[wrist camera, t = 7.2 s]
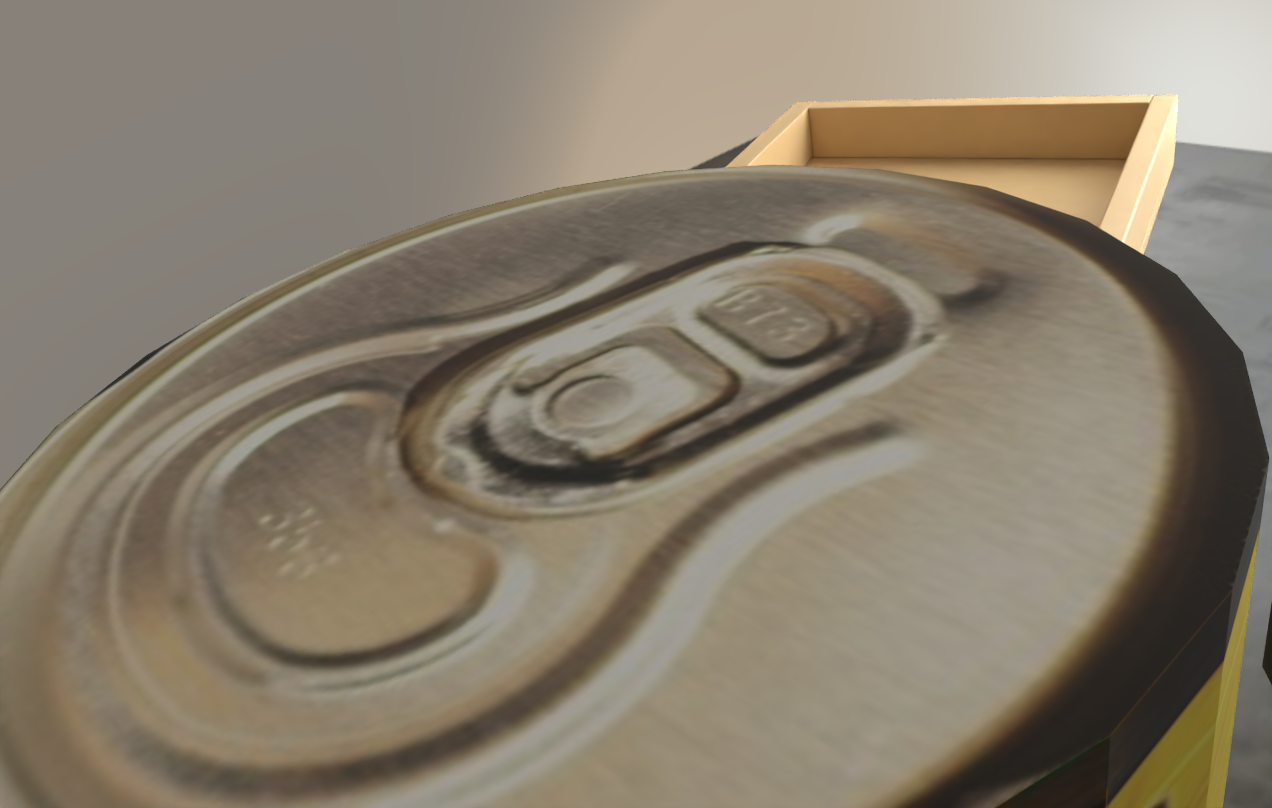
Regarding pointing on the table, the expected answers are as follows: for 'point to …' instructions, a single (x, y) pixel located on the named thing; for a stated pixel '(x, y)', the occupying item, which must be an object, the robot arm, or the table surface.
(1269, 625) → the robot arm
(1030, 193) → the serving tray
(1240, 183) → the table surface
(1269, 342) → the table surface
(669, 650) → the beverage can
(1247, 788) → the table surface
